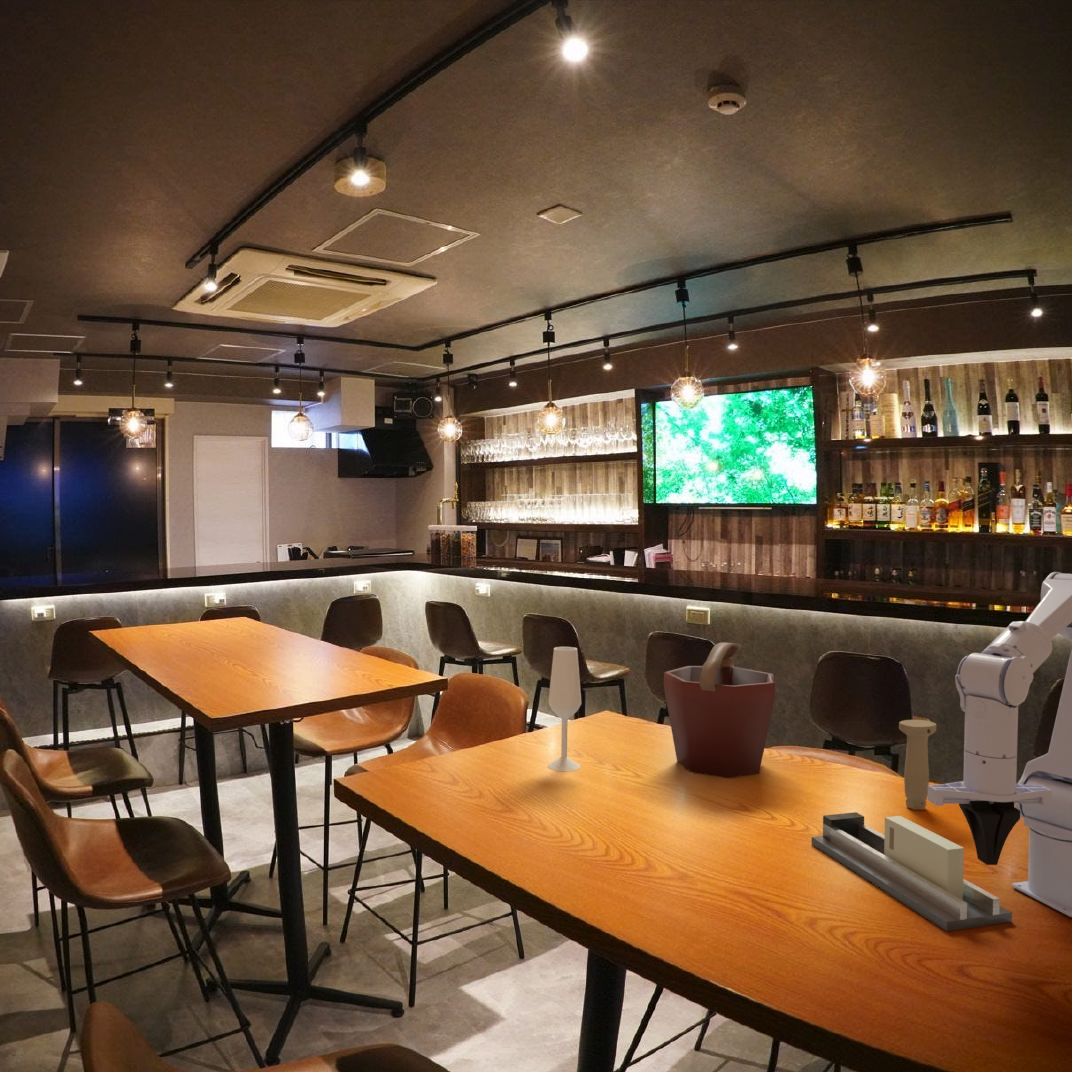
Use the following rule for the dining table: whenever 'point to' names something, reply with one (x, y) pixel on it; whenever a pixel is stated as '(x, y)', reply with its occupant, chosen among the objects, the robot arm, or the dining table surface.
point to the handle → (916, 761)
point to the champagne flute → (564, 698)
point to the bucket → (719, 714)
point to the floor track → (905, 877)
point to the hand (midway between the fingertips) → (987, 861)
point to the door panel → (925, 854)
